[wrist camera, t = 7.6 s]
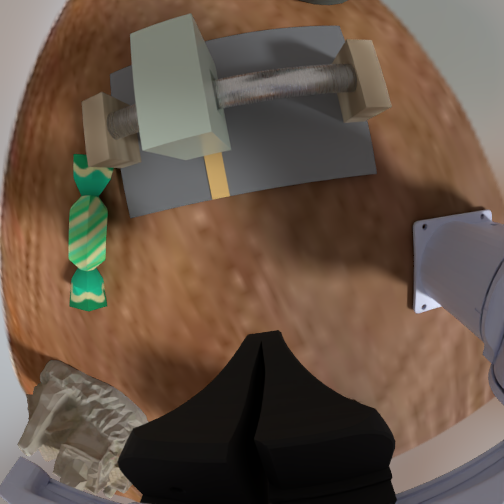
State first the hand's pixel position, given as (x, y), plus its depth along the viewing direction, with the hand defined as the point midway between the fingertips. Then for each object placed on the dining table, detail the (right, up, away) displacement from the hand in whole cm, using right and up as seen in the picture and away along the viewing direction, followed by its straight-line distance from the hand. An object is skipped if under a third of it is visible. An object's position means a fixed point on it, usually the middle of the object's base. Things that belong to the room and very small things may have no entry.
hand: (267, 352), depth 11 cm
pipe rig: (-2, +14, +7) cm, 16 cm away
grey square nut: (-4, +13, +5) cm, 15 cm away
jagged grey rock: (-20, -17, +16) cm, 31 cm away
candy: (-13, +6, +10) cm, 18 cm away
